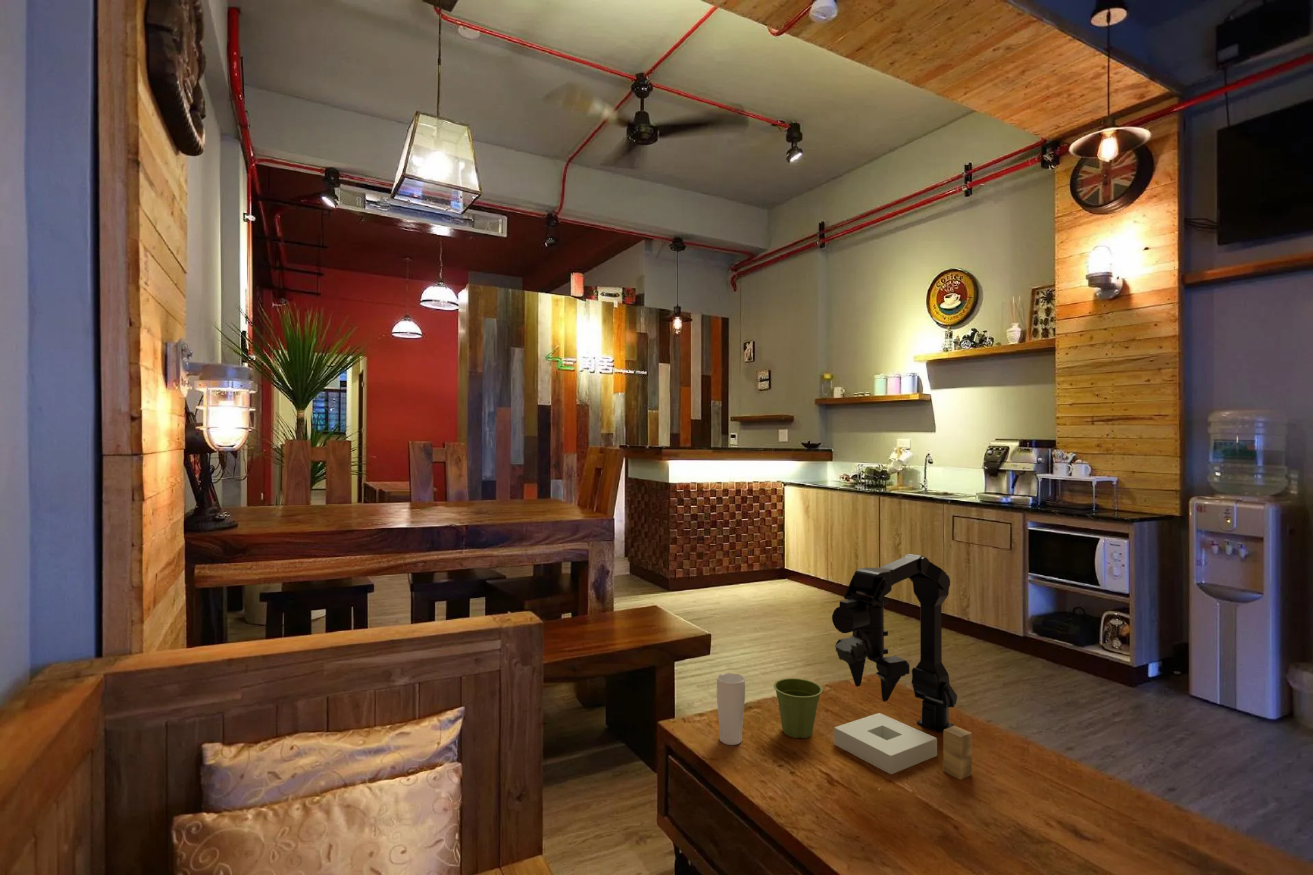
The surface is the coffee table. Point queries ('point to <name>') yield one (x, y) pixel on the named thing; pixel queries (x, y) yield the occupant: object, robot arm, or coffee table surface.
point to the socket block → (885, 742)
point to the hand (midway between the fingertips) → (871, 693)
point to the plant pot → (797, 705)
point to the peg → (957, 752)
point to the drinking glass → (730, 707)
